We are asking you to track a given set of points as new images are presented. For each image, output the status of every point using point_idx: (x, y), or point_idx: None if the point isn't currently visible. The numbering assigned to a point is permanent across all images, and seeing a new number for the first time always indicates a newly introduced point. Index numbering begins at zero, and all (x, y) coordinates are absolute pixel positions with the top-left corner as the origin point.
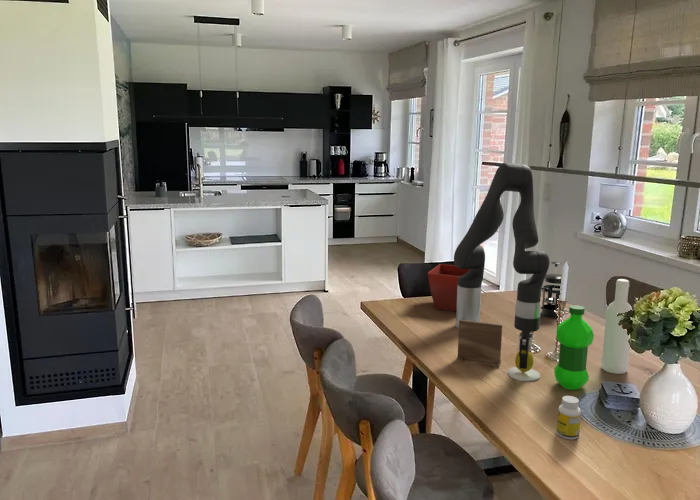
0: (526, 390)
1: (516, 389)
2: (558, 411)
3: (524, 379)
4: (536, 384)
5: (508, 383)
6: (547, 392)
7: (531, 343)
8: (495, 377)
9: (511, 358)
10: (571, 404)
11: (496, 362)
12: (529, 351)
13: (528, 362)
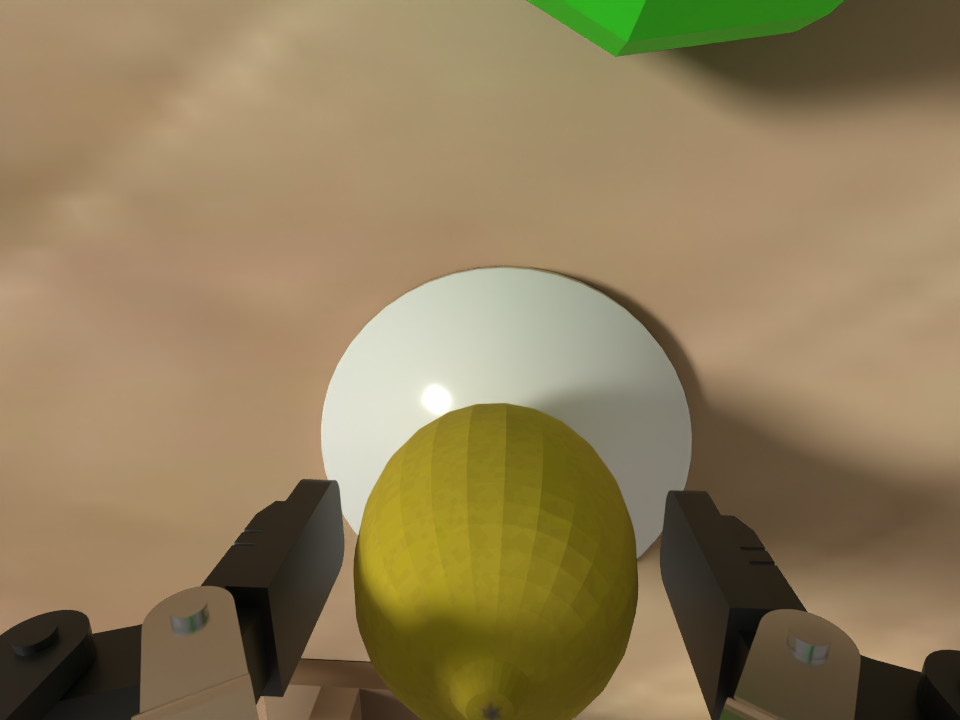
0: (938, 386)
1: (930, 484)
2: None
3: (690, 433)
4: (732, 290)
5: (785, 563)
6: (955, 143)
7: (253, 700)
8: (667, 675)
9: (108, 577)
10: None
11: (359, 715)
12: (257, 551)
13: (621, 505)
